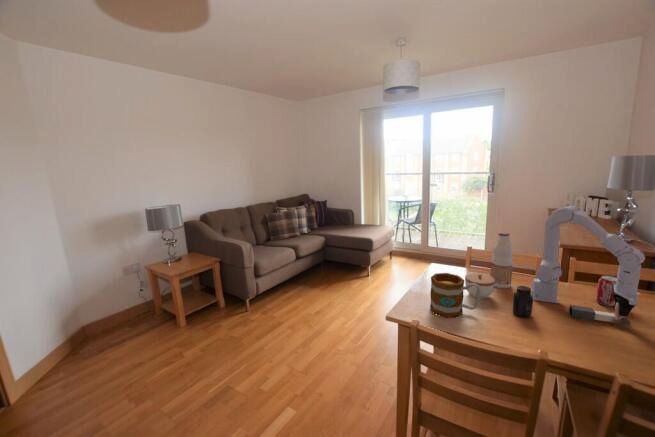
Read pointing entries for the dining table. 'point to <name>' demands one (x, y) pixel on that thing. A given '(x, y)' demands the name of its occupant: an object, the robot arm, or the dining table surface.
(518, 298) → the supplement bottle
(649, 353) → the dining table surface
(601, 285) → the soda can
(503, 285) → the fruit juice
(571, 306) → the sleeve
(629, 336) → the dining table surface
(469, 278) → the lidded bowl
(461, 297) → the mug
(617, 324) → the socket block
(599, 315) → the sliding bolt
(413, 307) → the dining table surface
